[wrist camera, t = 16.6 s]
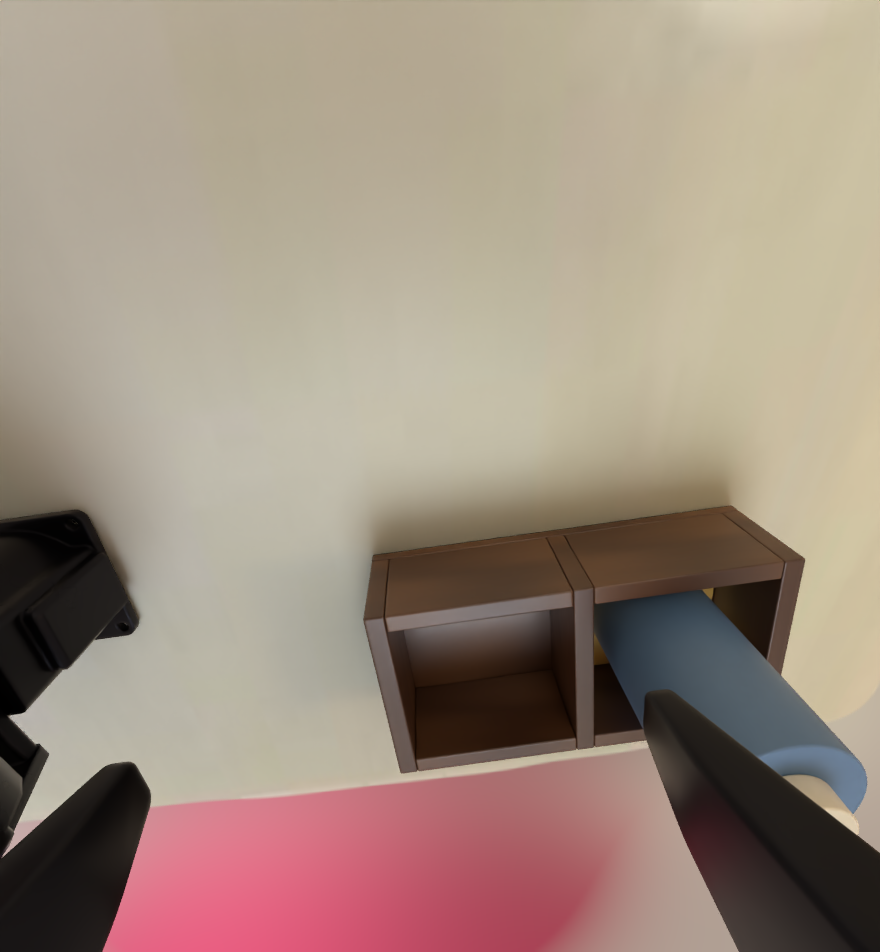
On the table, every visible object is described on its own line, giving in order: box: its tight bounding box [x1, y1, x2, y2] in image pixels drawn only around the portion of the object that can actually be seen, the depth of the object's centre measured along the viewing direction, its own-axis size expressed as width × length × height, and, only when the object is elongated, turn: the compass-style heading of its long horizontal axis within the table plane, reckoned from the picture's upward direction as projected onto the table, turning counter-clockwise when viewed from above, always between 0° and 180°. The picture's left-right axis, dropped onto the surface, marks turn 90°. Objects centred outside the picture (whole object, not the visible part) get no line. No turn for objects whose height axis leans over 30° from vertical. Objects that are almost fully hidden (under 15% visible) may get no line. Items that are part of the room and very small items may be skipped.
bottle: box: [594, 590, 867, 835], centre depth 18 cm, size 5×5×10 cm
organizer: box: [363, 506, 805, 773], centre depth 21 cm, size 17×9×4 cm, turn 97°
